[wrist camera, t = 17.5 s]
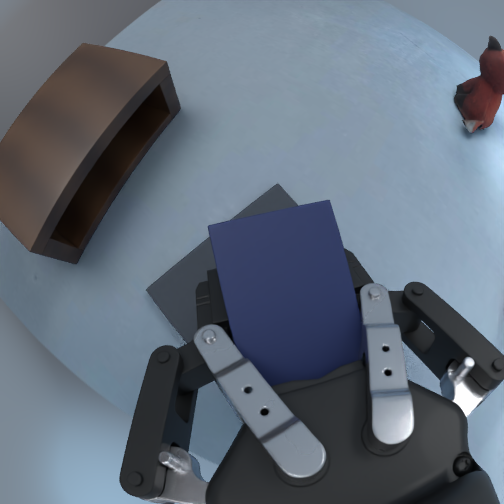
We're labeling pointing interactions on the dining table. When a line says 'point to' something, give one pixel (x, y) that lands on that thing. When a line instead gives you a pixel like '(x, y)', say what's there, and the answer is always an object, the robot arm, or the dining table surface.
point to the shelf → (80, 146)
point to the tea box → (288, 291)
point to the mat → (202, 270)
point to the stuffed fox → (483, 89)
